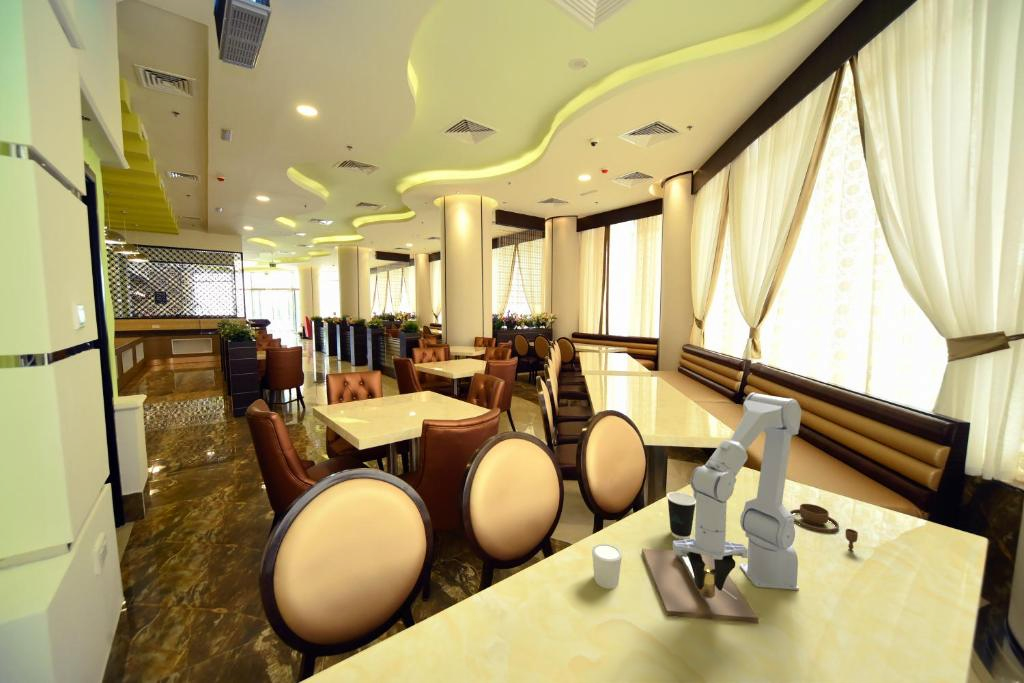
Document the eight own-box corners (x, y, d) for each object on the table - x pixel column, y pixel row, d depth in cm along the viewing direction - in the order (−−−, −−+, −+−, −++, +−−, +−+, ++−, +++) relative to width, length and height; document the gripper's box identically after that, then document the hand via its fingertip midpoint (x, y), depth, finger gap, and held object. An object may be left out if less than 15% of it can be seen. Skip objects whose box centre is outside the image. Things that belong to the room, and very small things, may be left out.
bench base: (713, 557, 100) (713, 552, 100) (758, 623, 78) (758, 617, 78) (642, 552, 102) (642, 548, 102) (667, 616, 80) (667, 610, 80)
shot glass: (622, 592, 87) (623, 562, 87) (591, 588, 88) (592, 558, 88) (620, 572, 94) (620, 545, 93) (591, 569, 95) (591, 541, 95)
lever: (687, 555, 98) (688, 528, 98) (718, 608, 80) (719, 575, 80) (673, 554, 99) (673, 527, 98) (700, 606, 81) (701, 574, 80)
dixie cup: (691, 529, 114) (692, 492, 113) (699, 544, 106) (700, 505, 105) (663, 526, 115) (664, 490, 114) (668, 541, 107) (669, 502, 107)
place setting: (848, 524, 118) (849, 505, 117) (861, 557, 101) (862, 535, 101) (779, 508, 127) (779, 491, 127) (780, 536, 111) (781, 516, 110)
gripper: (681, 533, 78) (679, 598, 78) (756, 537, 76) (754, 602, 77) (670, 515, 85) (668, 575, 85) (738, 518, 83) (736, 579, 84)
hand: (708, 586), depth 82 cm, fingers open, 3 cm apart
